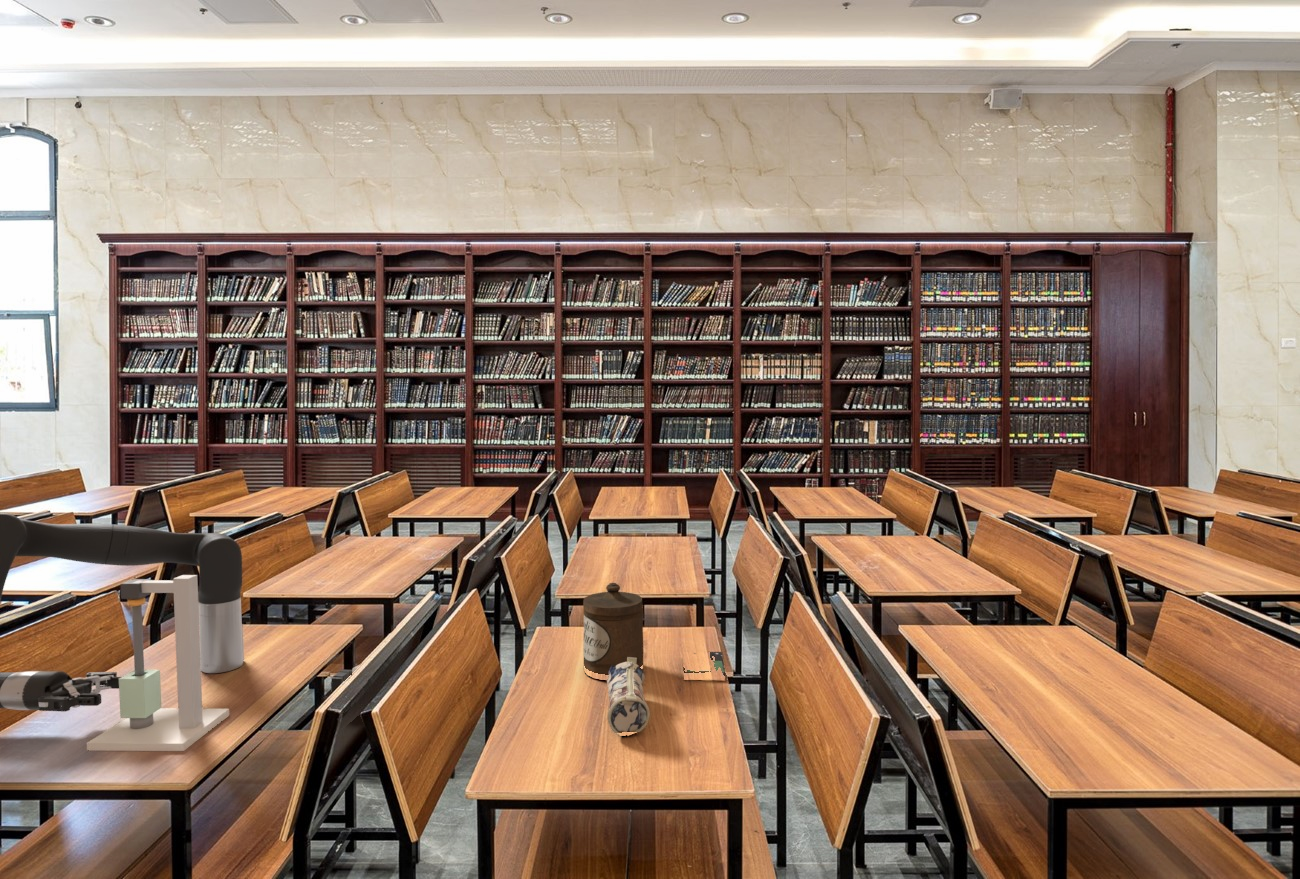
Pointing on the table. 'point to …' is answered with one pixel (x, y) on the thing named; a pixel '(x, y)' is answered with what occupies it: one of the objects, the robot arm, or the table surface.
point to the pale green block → (140, 694)
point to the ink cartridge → (340, 678)
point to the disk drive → (718, 662)
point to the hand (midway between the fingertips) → (115, 690)
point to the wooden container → (612, 629)
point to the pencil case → (627, 698)
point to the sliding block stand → (189, 719)
